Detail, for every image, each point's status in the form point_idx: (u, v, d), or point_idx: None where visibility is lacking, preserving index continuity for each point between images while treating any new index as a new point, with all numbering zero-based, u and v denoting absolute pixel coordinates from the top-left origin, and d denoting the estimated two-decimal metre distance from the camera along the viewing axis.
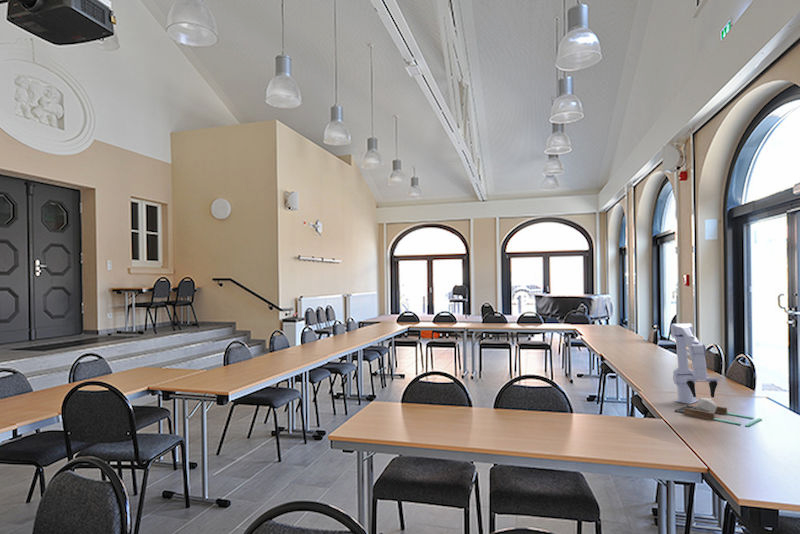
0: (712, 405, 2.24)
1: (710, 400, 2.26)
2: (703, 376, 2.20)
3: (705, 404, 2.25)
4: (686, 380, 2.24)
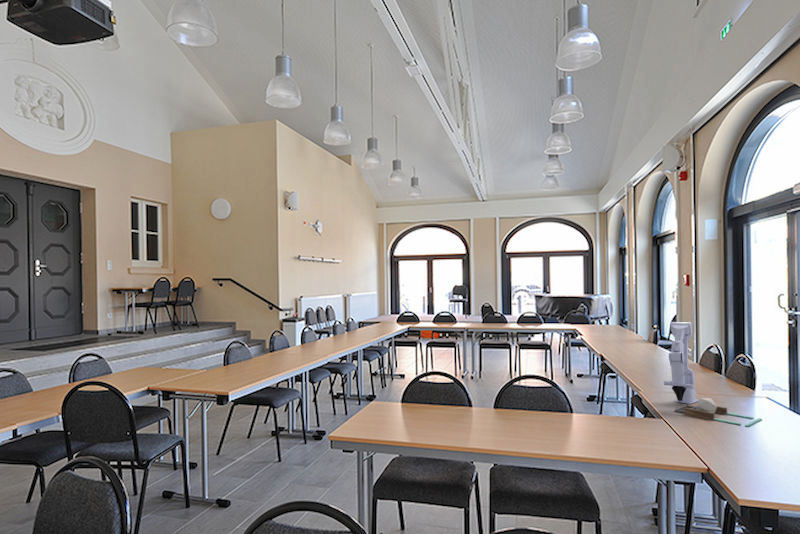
0: (712, 405, 2.24)
1: (710, 400, 2.26)
2: (676, 382, 2.37)
3: (705, 404, 2.25)
4: (664, 383, 2.43)
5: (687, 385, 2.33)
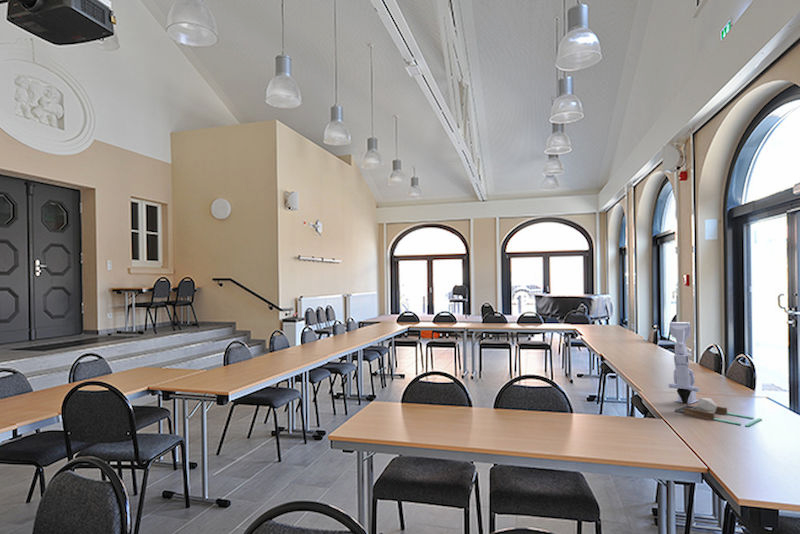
0: (712, 405, 2.24)
1: (710, 400, 2.26)
2: (681, 385, 2.35)
3: (705, 404, 2.25)
4: (669, 386, 2.41)
5: (692, 388, 2.31)
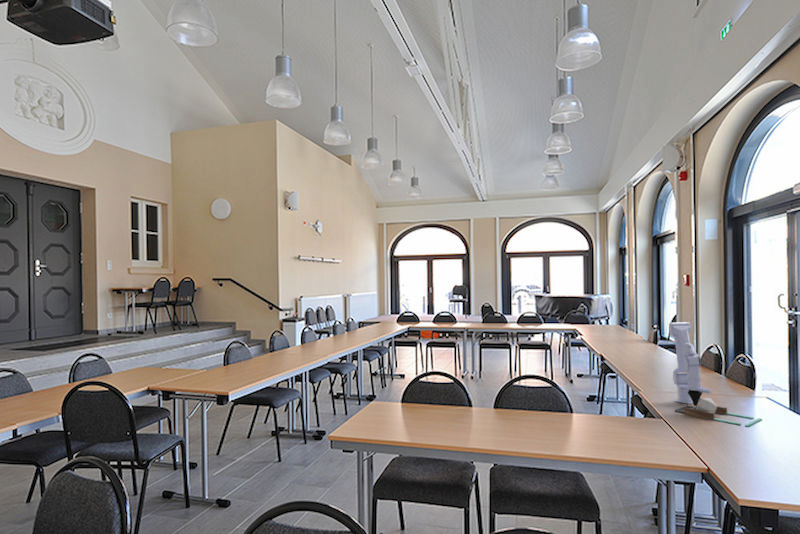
0: (713, 405, 2.24)
1: (710, 400, 2.26)
2: (692, 387, 2.30)
3: (705, 404, 2.25)
4: (680, 388, 2.37)
5: (704, 390, 2.27)
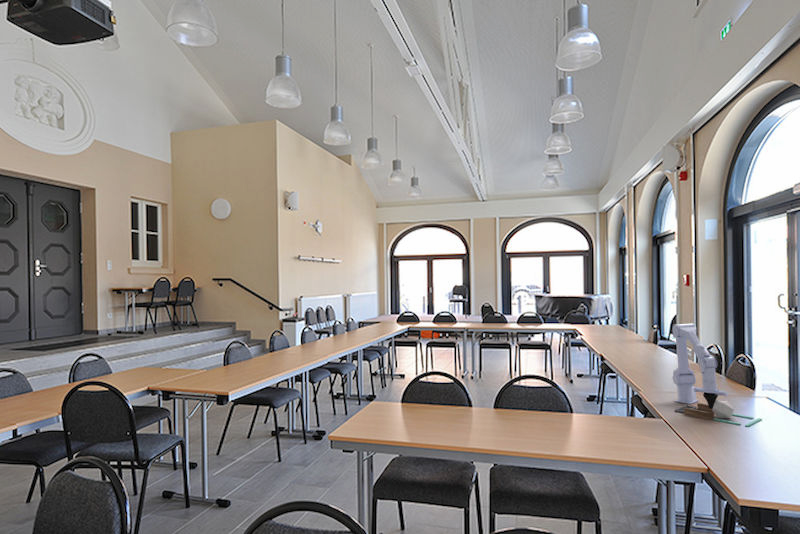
0: (729, 408, 2.18)
1: (727, 403, 2.20)
2: (708, 389, 2.24)
3: (721, 407, 2.19)
4: (695, 390, 2.31)
5: (720, 392, 2.21)
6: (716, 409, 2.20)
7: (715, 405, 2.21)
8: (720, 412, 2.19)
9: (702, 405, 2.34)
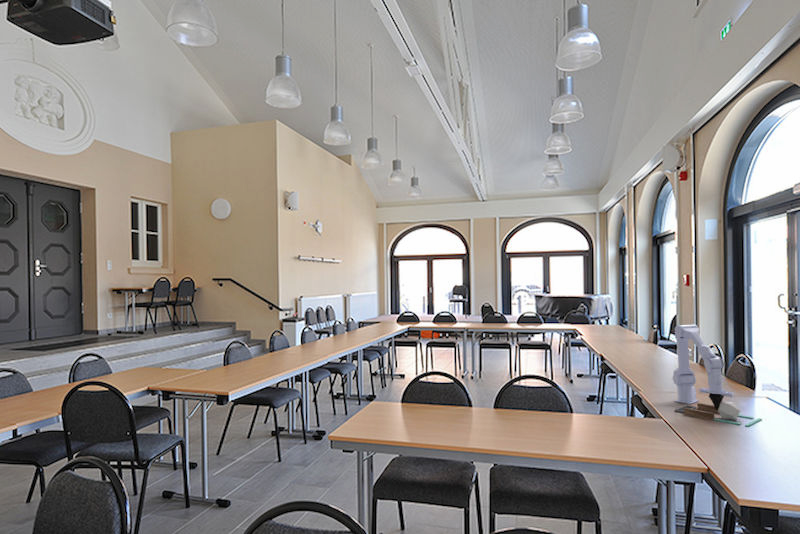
0: (735, 409, 2.16)
1: (732, 404, 2.18)
2: (714, 390, 2.22)
3: (727, 408, 2.17)
4: (700, 391, 2.29)
5: (726, 393, 2.19)
6: (722, 410, 2.18)
7: (721, 406, 2.19)
8: (726, 413, 2.17)
9: (702, 405, 2.34)
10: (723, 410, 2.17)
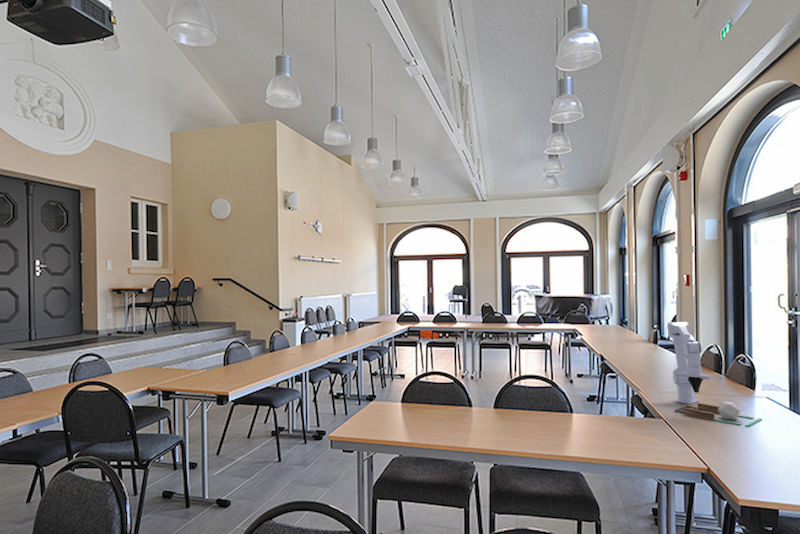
0: (735, 409, 2.16)
1: (732, 404, 2.18)
2: (693, 373, 2.30)
3: (727, 408, 2.17)
4: (680, 375, 2.37)
5: (704, 376, 2.27)
6: (722, 410, 2.18)
7: (721, 406, 2.19)
8: (726, 413, 2.17)
9: (702, 405, 2.34)
10: (723, 410, 2.17)
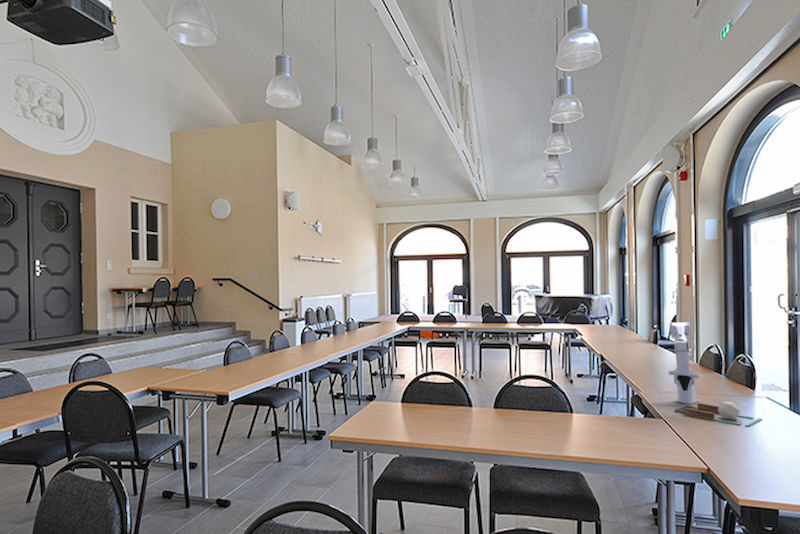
0: (735, 409, 2.16)
1: (732, 404, 2.18)
2: (681, 372, 2.34)
3: (727, 408, 2.17)
4: (669, 373, 2.41)
5: (692, 374, 2.31)
6: (722, 410, 2.18)
7: (721, 406, 2.19)
8: (726, 413, 2.17)
9: (702, 405, 2.34)
10: (723, 410, 2.17)
